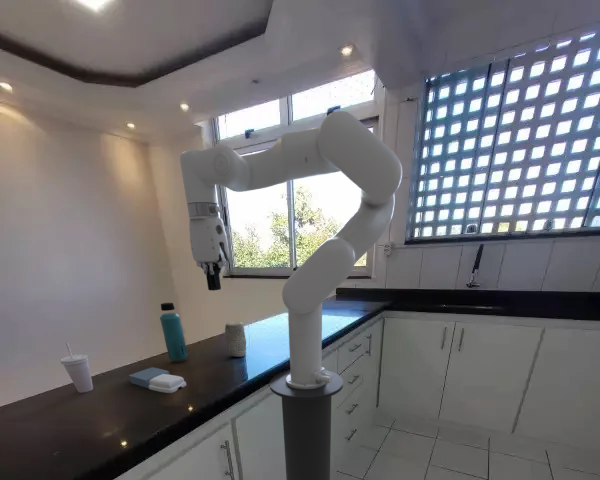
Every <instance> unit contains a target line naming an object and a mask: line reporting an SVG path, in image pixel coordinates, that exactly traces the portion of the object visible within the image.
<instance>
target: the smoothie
mask: <svg viewBox="0 0 600 480" xmlns="http://www.w3.org/2000/svg"><path fill="white" fill-rule="evenodd" d="M65 346H66V349H67V351H68V353H69V355H68V356H65V357H62V358H61V359H59V361H60V364H61V365H63V367H64V368H65V370H66V373H67V374H68V376H69V378H70V379H71V382H72V383H73V385H74V387H75V388H76V391H77V393H79V394H80V393H81V394H83V393H89V392H90V391H91V392H92V391H93V390H94V385H93V379H92V374H91V369H90V364H89V356H88V354H84V353H83V354H82V353H80V354H79V353H77V354H73V352H72V349H71V347H70V344H69V342H68V341H67V342H65Z"/></svg>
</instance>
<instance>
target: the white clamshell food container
mask: <svg viewBox="0 0 600 480" xmlns="http://www.w3.org/2000/svg"><path fill="white" fill-rule="evenodd" d="M149 384H150V385H149V388H148V390H151V391H155V392H158V393H159V392H160V393H166V394H173V393H175V392H177V391H179V388H181V389H182V388H185V387H187V382H186V381H185V380H184V377H182V376H179V375H175V374H174V375H173V374H170V375H168V374H161V375H159V376H157V377H155V378H153V379H151V380H150V381H149Z"/></svg>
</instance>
